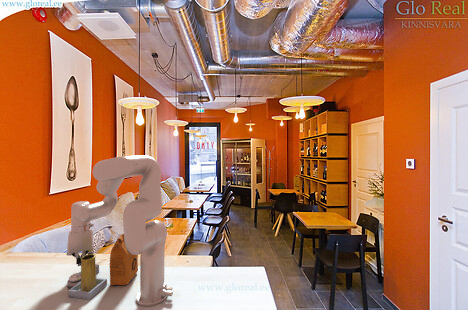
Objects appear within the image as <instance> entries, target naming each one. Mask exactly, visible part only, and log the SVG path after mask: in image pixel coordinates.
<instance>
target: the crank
mask: <svg viewBox="0 0 468 310" xmlns="http://www.w3.org/2000/svg"><path fill="white" fill-rule="evenodd" d="M89 254H94V252H93V251H91V252H88V253H87V255H89ZM68 280H69V282H71V283H75V282H79V281H81V271H79V272H76V273H73V274H70V276H69V277H68Z"/></svg>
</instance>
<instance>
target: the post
mask: <svg viewBox="0 0 468 310" xmlns="http://www.w3.org/2000/svg"><path fill="white" fill-rule="evenodd" d="M95 266H96V275H98V274H99V273H100V264H98V263H97V264H96V263H95Z"/></svg>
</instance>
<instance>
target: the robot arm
mask: <svg viewBox="0 0 468 310" xmlns="http://www.w3.org/2000/svg"><path fill="white" fill-rule="evenodd" d="M92 176H93V178H94V179H95V180H97V181H98V182H97V184H96V185H95V186H96V187H95V188H96V190H97V192H98V193H99V194H100V195H103V196H104V198H103V200H101V201H97V202H94V203H90V202H89V201H88V200H85V201H84V200H83V201H82V200H80V201H76V202H73V203H72V204H71V209H70V210H71V213H70V216H71V218H70V219H71V221H70V224H71V225H70V230H69V232H68V236H67V245H66V247H67V248H66V256H73V257H74V258H75V260H76V261H75V262H76V265H77V267H81V258H82V257H83V256H85V255H88V253H89V252H93V251H94V246H93V245H94V232H93V227H94V226H95V225H94V223H91V222H92V221H95V220H98V219H102V218H105V217H107V216H109V215H110V214H111V213H112V212H113V210H114V209H115V208H116V206H117V203H118V200H119V199H118V198H119V197H118V192H117V191H118V190H119V188H120V186H121V185H122V184H123V182H124V180H125V178H127V179H128V178H133V177H138V176H142V177H141V178H140V182H139V186H138V190H139V191H138V193H139V195H138V199H134V200H131V201H130V202H128V203H127V204H125V205H126V206H125V207H124V209H123V213H122V225H123V234H124V241H125V246H126V249H127V250H128V252H129V253H131V254H133V255H138V256H139V255H140V259H139V261H140V262H139V263H140V265H139V267H140V268H139V275H140V279H139V280H140V281H139V282H140V284H139V287H140V288H139V289H140V290H139V291H138V292H137V294H136V297H135V300H136V303H137V304H138V305H140V306H144V307H151V306H155V305H159V304H160V303H162V302H163V301H165V299H167V297H173V293H174V291H173V289H174V288H173V287H172V286H171V287H168V284H167V282H165V252H166V251H165V249H166V248H165V247H166V240H167V236H168V233H167V232H168V231H167V226H166V225H165V223H164V222H163V221H161V220H159V219H158V220H153V219H156V218H158V217H159V216H160V215H161V213H162V210H163V205H162V204H163V203H162V188H161V182H162V179H161V177H162V170H161V166H160V164H159V162H158V161H157V160H156V159H155V158H154V157H152V156H150V155H123V156H117V157H116V156H115V157H112V158H107V159H103V160H102V159H101V160H100V161H98V162H96V163H95V164H94V166H93V168H92ZM80 253H81V255H80Z"/></svg>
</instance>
